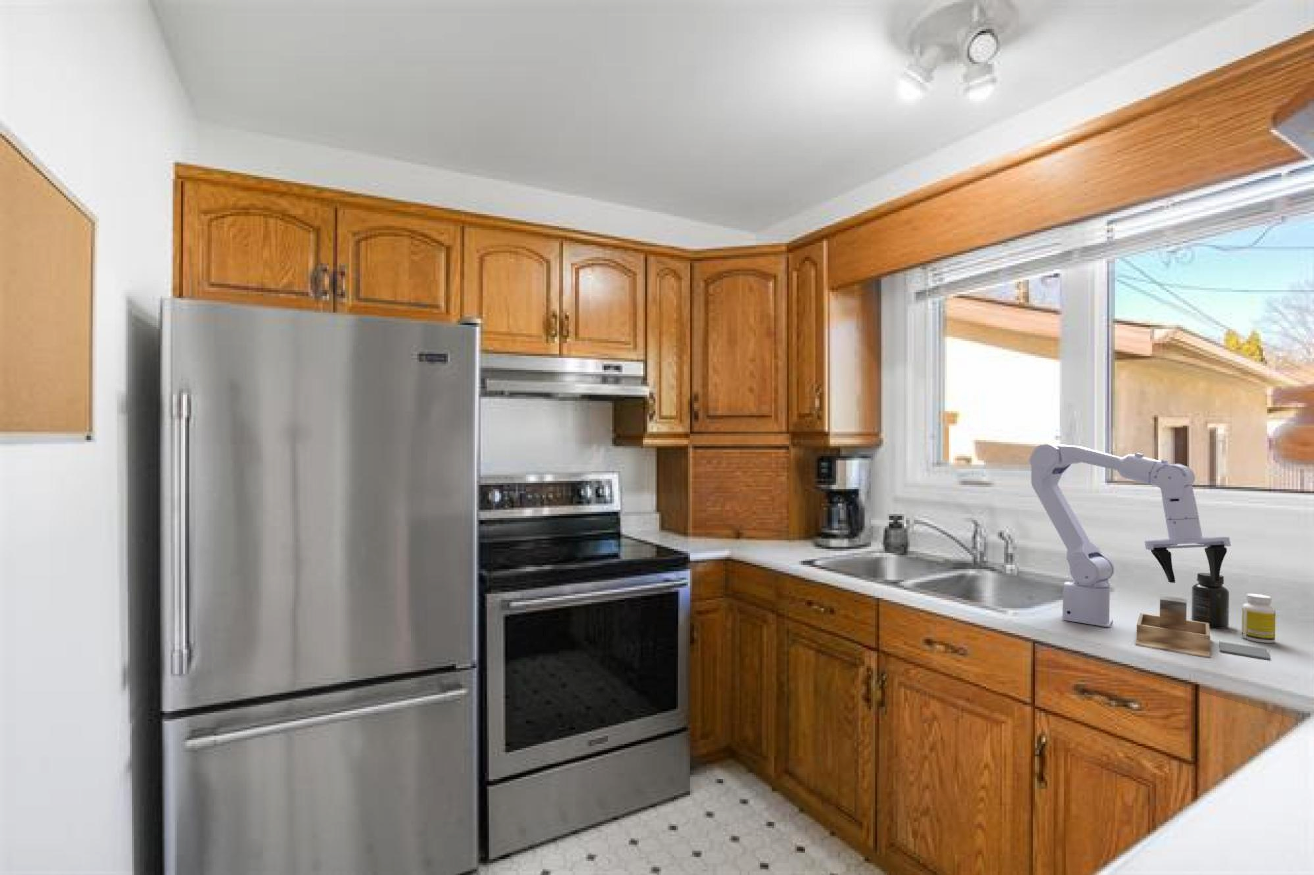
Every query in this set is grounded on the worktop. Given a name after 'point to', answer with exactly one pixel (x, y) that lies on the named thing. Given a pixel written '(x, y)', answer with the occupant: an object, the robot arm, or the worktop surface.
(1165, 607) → the block
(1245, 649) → the pad
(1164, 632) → the wooden tray
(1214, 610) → the supplement bottle
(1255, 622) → the supplement bottle
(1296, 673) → the worktop surface
